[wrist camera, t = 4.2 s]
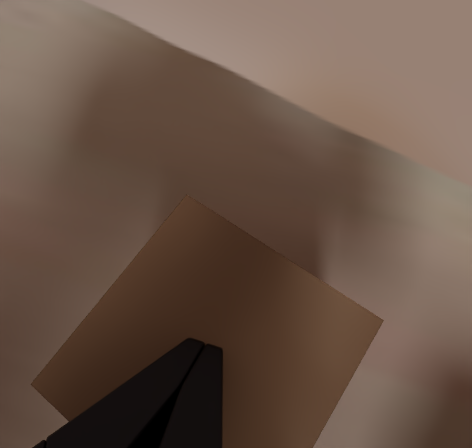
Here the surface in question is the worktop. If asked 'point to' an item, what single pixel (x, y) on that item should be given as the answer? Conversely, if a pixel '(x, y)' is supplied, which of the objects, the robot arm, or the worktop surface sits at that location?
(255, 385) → the plain block
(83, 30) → the worktop surface
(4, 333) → the worktop surface
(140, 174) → the worktop surface
